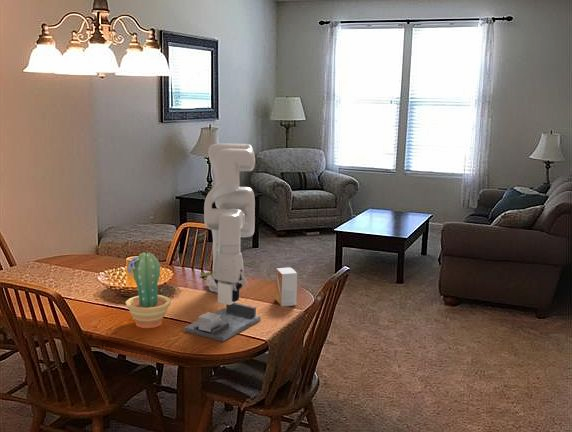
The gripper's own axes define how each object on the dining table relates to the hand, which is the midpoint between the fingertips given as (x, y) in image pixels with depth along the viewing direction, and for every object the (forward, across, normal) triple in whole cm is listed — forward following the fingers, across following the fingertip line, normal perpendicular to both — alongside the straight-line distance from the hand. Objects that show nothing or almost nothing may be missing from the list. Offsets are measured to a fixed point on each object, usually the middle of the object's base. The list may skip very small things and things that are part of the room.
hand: (228, 298), depth 219 cm
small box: (+9, +6, +31) cm, 33 cm away
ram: (+7, 0, -10) cm, 12 cm away
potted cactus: (+9, -23, -15) cm, 29 cm away
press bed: (+9, 0, -3) cm, 10 cm away
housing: (+1, 0, 0) cm, 1 cm away
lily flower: (+9, -38, +42) cm, 58 cm away
